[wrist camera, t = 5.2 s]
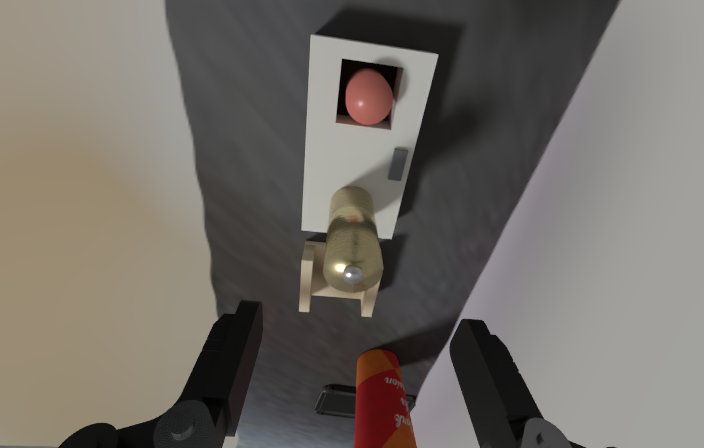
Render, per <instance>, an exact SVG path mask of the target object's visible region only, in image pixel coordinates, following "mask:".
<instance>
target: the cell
mask: <svg viewBox="0 0 704 448" xmlns="http://www.w3.org/2000/svg"><path fill="white" fill-rule="evenodd" d="M382 273H383V267H382V260H381V253H380V246H379V239H378V232H377V226H376V219H375V212H374V205H373V200H372V197H371V195H370V194H369V193H368V192H367V191H366V190H364V189H363V188H361V187H357V186H346V187H343V188H341V189H339V190H337V191H336V192H335V193H334V194H333V196H332V198H331V200H330V207H329V217H328V227H327V237H326V247H325V256H324V266H323V274H324V277H325V279H326V281H327V282H328V284H329V285H331V286H332V287H333V288H335V289H337V290H339V291H342V292H347V293H358V292H363V291H366V290H368V289H370V288H372V287H374V286H375V285H376V284H377V283H378V282H379V281H380V279H381V277H382Z"/></svg>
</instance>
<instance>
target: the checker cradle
mask: <svg viewBox="0 0 704 448" xmlns="http://www.w3.org/2000/svg"><path fill="white" fill-rule="evenodd" d="M342 58H343V59H349V60H356V61H363V62H369V63H376V64H383V65H389V66H396V67H398V68H397V73H396V78H395V84H394V89H393V104H392V107H391V110H390V112H389V115H388V120H387V121H385V120H382V121H380V122H378V123H376V124H372V125H365V124H361V123H359V122H357V121H356V120H354V119H353V118H352V117H351V116H347V115H340V114H337V104H338V94H339V84H340V74H341V64H342ZM437 59H438V54H435V53H432V52H428V51H421V50H415V49H408V48H402V47H395V46H389V45H383V44H376V43H370V42H363V41H357V40H350V39H344V38H337V37H331V36H325V35H318V34H312V35H311V42H310V63H309V84H308V105H307V126H306V147H305V168H304V189H303V210H302V230H305V231H315V232H325V233H327V227H328V217H329V207H330V200H331V198H332V196H333V194H334V193H335V192H336V191H337V190H339V189H341V188H343V187H346V186H357V187H361V188H363V189H364V190H366V191H367V192H368V193H369V194H370V195H371V197H372V200H373V205H374V212H375V219H376V226H377V232H378V238H384V239H392V235H393V232H394V228H395V224H396V220H397V216H398V212H399V208H400V204H401V200H402V196H403V192H404V188H405V184H406V181H407V177H408V173H409V169H410V165H411V161H412V157H413V153H414V149H415V145H416V141H417V137H418V134H419V130H420V126H421V122H422V118H423V114H424V110H425V106H426V102H427V98H428V94H429V90H430V86H431V83H432V79H433V75H434V71H435V67H436V63H437Z"/></svg>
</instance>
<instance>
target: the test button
mask: <svg viewBox="0 0 704 448" xmlns="http://www.w3.org/2000/svg"><path fill="white" fill-rule="evenodd" d="M392 104H393V94H392V90H391V88H390V86H389V84H388V83H387V81H386V80H385V79H384V77H383V76H382V74H381V73H380V72H378V71H377V70H375V69H372V68H362V69H359V70H357V71H355V72H354V73H353V74H352V75H351V76H350V78H349V80H348V82H347V85H346V107H347V110H348V112H349V114H350V116H351V117H352V118H353V119H354V120H356V121H357V122H359V123H361V124H365V125H372V124H376V123H378V122H380V121H382V120H383V119H384V118H385V117H386V116H387V115H388V113H389V112H390V110H391V107H392Z"/></svg>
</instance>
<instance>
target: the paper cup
mask: <svg viewBox="0 0 704 448" xmlns="http://www.w3.org/2000/svg"><path fill="white" fill-rule="evenodd" d="M354 448H417V446H416V441H415V437H414V432H413V427H412V423H411V418H410V413H409V408H408V404H407V399H406V394H405V390H404V385H403V381H402V376H401V372H400V367H399V363H398V359H397V357H396V355H395V354H394V353H393V352H391V351H389V350H386V349H372V350H368V351H366V352H364V353H362V354H361V355H360V356H359V358H358V362H357V381H356V410H355V444H354Z"/></svg>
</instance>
